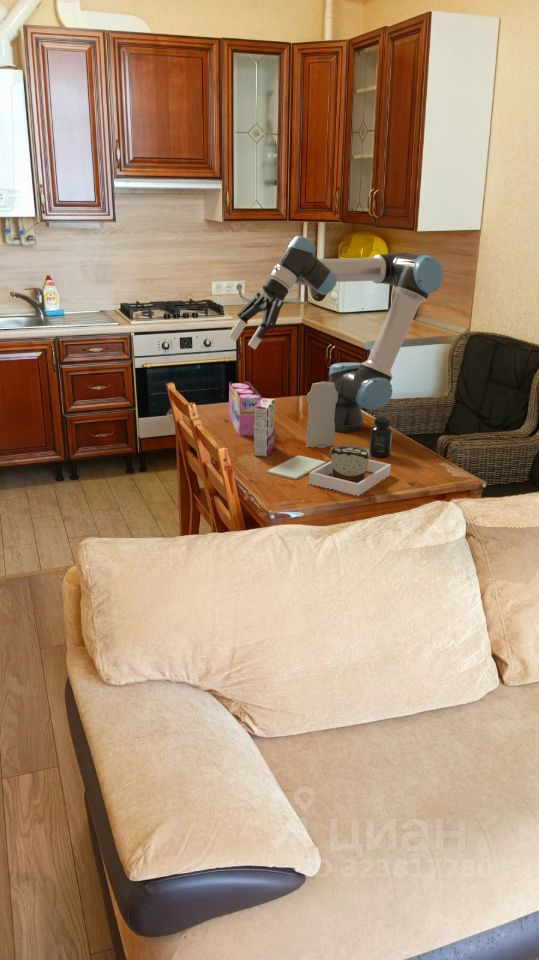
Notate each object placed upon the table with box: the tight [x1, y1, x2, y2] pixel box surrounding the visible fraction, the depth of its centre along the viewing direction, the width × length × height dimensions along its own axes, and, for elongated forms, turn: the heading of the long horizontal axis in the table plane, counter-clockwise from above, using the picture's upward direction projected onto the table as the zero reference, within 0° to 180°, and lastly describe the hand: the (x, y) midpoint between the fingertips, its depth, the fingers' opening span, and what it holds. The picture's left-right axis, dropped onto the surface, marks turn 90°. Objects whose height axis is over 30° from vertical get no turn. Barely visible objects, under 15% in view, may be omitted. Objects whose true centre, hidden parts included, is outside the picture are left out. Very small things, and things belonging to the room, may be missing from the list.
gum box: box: [228, 381, 262, 437], centre depth 277 cm, size 24×8×14 cm, turn 13°
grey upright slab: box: [306, 381, 338, 449], centre depth 255 cm, size 11×4×22 cm, turn 106°
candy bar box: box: [253, 397, 276, 458], centre depth 250 cm, size 11×5×16 cm, turn 168°
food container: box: [328, 444, 372, 483], centre depth 229 cm, size 12×6×10 cm, turn 71°
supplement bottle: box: [368, 417, 393, 459], centre depth 250 cm, size 7×7×12 cm
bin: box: [308, 458, 392, 497], centre depth 230 cm, size 21×16×4 cm
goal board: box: [266, 455, 326, 480], centre depth 239 cm, size 18×10×1 cm, turn 146°
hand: (241, 343), depth 236 cm, fingers open, 13 cm apart
